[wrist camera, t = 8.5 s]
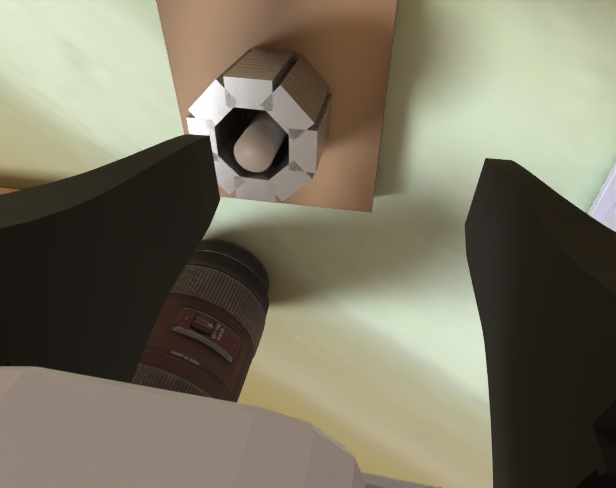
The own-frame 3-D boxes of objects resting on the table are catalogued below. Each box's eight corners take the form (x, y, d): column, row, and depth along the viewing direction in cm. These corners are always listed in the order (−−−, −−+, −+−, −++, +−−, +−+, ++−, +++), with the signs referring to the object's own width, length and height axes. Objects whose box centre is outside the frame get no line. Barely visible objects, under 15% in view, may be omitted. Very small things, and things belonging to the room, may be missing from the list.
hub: (334, 53, 17) (319, 84, 14) (327, 163, 20) (314, 208, 17) (217, 44, 18) (178, 72, 15) (229, 152, 21) (199, 193, 18)
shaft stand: (398, -9, 16) (395, 19, 12) (373, 197, 23) (366, 261, 19) (170, -15, 18) (98, 9, 14) (206, 180, 24) (165, 237, 20)
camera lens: (152, 234, 28) (-21, 452, 17) (259, 226, 26) (146, 470, 14) (196, 313, 33) (85, 526, 21) (290, 312, 31) (223, 548, 19)
